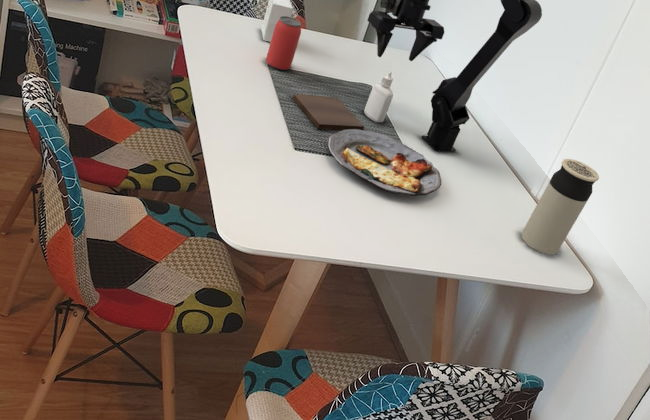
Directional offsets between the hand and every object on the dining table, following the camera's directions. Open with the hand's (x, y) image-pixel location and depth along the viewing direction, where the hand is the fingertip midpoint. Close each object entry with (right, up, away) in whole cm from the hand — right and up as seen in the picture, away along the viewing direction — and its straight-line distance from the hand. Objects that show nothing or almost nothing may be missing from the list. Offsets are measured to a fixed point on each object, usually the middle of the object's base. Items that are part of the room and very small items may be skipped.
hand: (394, 58), depth 177 cm
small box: (-32, +11, +26) cm, 42 cm away
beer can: (-29, 0, +10) cm, 31 cm away
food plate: (-5, -28, -21) cm, 35 cm away
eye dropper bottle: (-5, -14, +1) cm, 15 cm away
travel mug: (+27, -43, -27) cm, 58 cm away
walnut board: (-16, -14, -6) cm, 22 cm away
